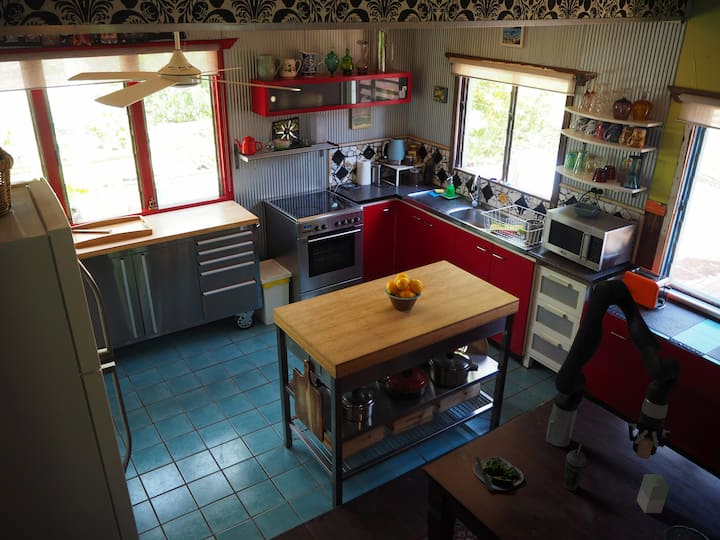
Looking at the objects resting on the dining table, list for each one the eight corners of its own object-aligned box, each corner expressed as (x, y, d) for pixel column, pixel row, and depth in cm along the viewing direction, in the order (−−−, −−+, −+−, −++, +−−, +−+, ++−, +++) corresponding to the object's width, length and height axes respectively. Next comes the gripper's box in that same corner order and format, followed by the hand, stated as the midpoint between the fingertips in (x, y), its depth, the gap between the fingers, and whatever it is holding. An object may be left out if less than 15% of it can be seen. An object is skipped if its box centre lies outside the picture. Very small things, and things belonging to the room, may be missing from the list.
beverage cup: (580, 482, 224) (591, 438, 217) (580, 495, 218) (591, 451, 210) (560, 477, 226) (570, 433, 219) (559, 490, 220) (569, 445, 212)
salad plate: (458, 466, 229) (460, 457, 227) (492, 452, 238) (494, 442, 237) (495, 499, 214) (497, 489, 212) (529, 482, 224) (531, 472, 222)
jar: (636, 457, 210) (640, 440, 207) (634, 448, 214) (638, 432, 211) (650, 460, 208) (655, 443, 206) (648, 451, 213) (653, 435, 210)
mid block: (649, 499, 210) (653, 486, 207) (640, 487, 215) (644, 474, 213) (665, 499, 210) (669, 486, 208) (656, 487, 216) (660, 474, 213)
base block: (644, 513, 212) (648, 499, 210) (636, 500, 217) (640, 487, 215) (661, 513, 212) (665, 499, 210) (652, 500, 218) (656, 487, 216)
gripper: (632, 413, 203) (622, 454, 209) (678, 421, 200) (667, 463, 206) (630, 401, 210) (620, 441, 216) (674, 409, 206) (663, 450, 212)
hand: (643, 452), depth 211 cm, fingers closed on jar, 4 cm apart
